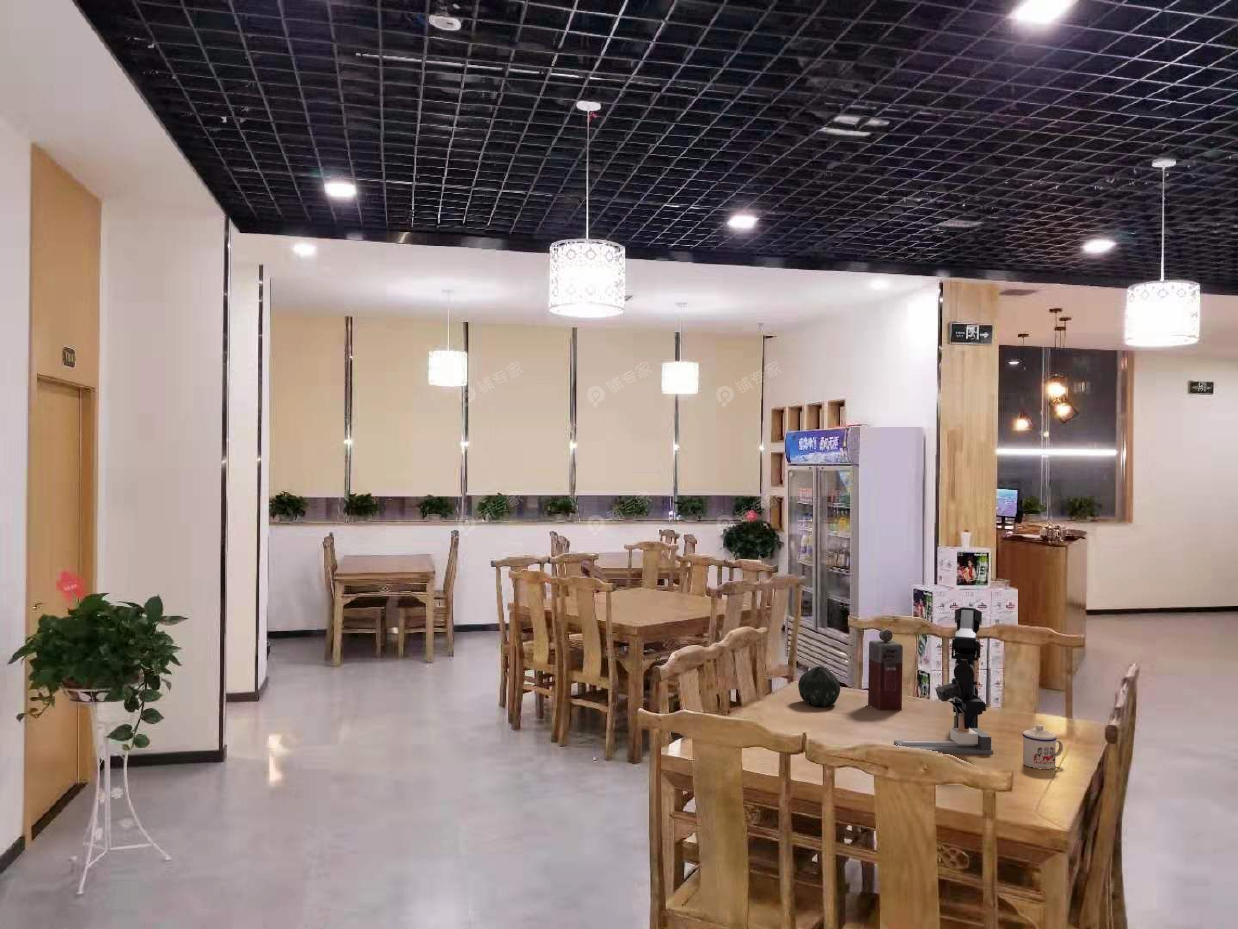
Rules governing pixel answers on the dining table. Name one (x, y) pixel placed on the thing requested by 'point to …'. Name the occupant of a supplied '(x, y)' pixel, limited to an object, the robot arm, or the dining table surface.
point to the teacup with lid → (1040, 748)
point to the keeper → (963, 733)
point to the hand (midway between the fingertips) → (964, 727)
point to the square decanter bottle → (885, 673)
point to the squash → (819, 687)
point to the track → (953, 745)
